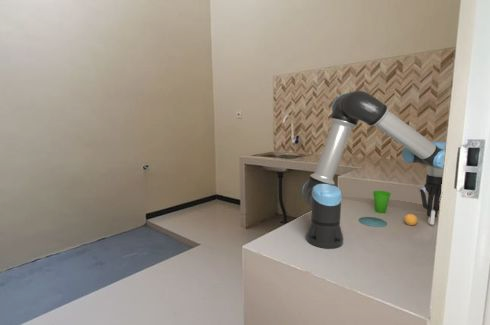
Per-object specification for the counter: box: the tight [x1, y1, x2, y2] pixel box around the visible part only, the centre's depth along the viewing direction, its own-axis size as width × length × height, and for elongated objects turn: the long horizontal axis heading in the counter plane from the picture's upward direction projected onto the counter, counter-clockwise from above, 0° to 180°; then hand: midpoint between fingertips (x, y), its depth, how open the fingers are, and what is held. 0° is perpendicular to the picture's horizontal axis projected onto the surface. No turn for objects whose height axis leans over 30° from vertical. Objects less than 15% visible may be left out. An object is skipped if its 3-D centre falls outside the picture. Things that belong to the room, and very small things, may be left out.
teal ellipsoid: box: [358, 216, 388, 228], centre depth 138 cm, size 13×13×1 cm
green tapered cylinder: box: [372, 190, 392, 214], centre depth 152 cm, size 9×9×11 cm
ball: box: [403, 213, 418, 226], centre depth 133 cm, size 6×6×6 cm
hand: (430, 223), depth 131 cm, fingers closed
